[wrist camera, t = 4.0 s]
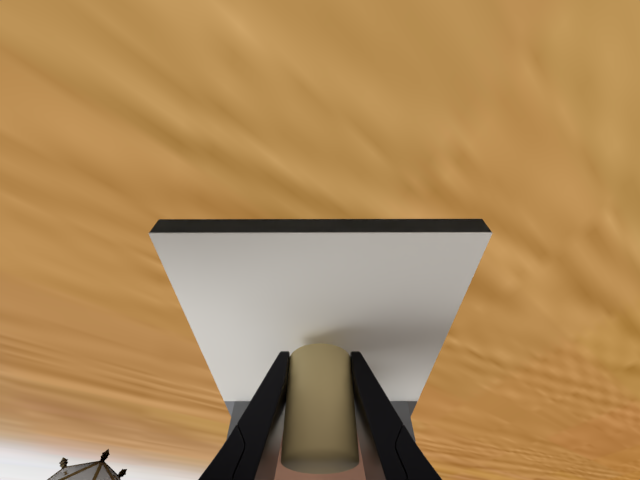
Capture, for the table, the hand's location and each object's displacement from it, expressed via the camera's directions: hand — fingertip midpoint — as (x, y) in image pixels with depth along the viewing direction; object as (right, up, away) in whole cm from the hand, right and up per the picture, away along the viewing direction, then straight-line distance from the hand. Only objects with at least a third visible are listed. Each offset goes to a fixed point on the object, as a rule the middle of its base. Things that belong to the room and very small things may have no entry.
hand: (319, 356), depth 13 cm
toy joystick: (0, -5, +5) cm, 7 cm away
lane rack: (0, -4, +5) cm, 7 cm away
